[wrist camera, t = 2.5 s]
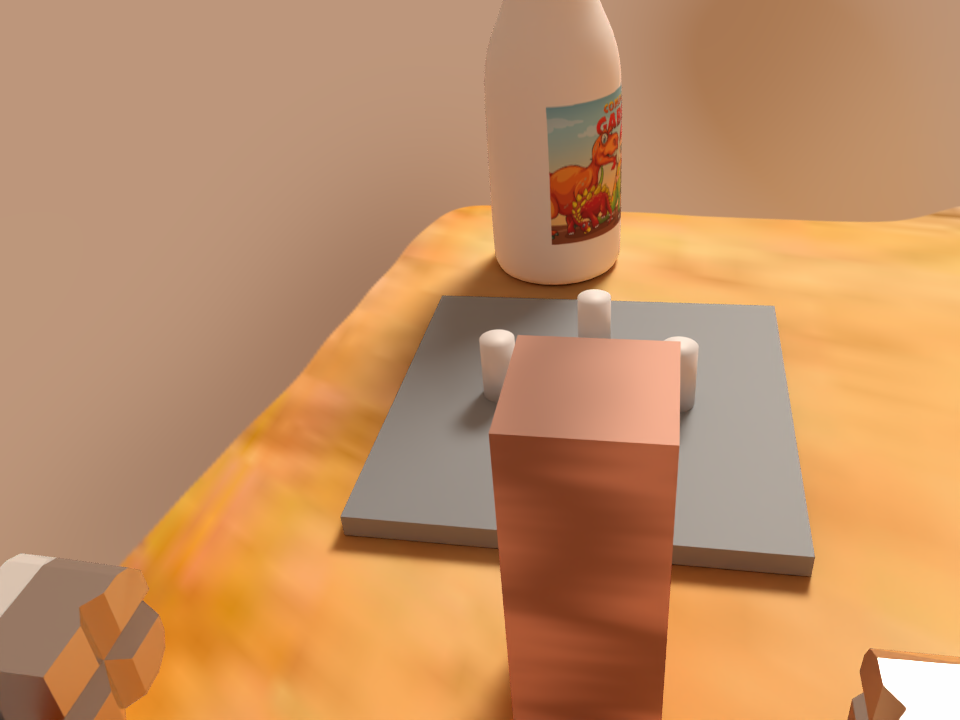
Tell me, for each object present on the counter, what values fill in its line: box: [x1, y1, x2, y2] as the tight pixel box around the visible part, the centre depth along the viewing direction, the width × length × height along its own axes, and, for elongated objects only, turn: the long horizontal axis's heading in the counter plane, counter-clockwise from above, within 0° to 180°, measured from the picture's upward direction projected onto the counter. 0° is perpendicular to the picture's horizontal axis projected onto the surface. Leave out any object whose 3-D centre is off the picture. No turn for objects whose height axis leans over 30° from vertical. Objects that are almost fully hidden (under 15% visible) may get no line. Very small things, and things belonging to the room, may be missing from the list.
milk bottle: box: [484, 0, 622, 285], centre depth 49 cm, size 8×8×20 cm
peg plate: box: [341, 289, 815, 577], centre depth 40 cm, size 18×18×4 cm
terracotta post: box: [489, 335, 681, 720], centre depth 26 cm, size 4×4×12 cm
